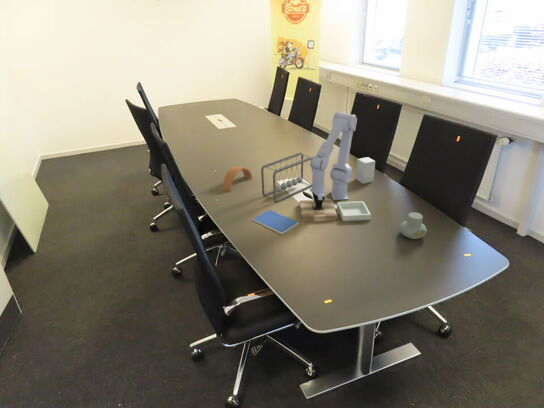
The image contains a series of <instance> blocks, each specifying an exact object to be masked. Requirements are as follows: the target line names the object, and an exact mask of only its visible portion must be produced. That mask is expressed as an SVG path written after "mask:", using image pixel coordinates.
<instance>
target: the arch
mask: <svg viewBox="0 0 544 408" xmlns="http://www.w3.org/2000/svg"><path fill="white" fill-rule="evenodd" d="M241 171H242V174H243V177H244V178H245V179H248V178H249V179H248V180H252V179H253V174H252V172H251V170H250V169H248V168H246V167H243V166H239V165H236V166H235V165H234V166H233V167H231V168H230V169H228V171H227V172H226V174H225V176H224V178H223V182H222V190H223V191H227V192H232V186H233V181H234V179H235V178H236V175H237V174H238V173H240V172H241Z"/></svg>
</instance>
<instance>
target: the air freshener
mask: <svg viewBox="0 0 544 408" xmlns="http://www.w3.org/2000/svg"><path fill="white" fill-rule="evenodd" d="M423 218H424V216H423V215H422V214H421V213H420V212H417V211H415V212H414V211H412V212H409V213H408V214H407V219H406V220H404V221H403V222H401V223H400V225H399V231H400V233H401V235H403V236H405V237H406V238H408V239H413V240H418V239H422V238H423V237H424V236H426V234H427V231H428V229H427V227H426V225H425V224H423Z"/></svg>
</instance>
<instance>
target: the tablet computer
mask: <svg viewBox="0 0 544 408" xmlns="http://www.w3.org/2000/svg"><path fill="white" fill-rule="evenodd" d="M252 222H255V223H258V224H259V225H261V226H263V227H265V228H267V229H270V230H271V231H274V232H276V233H278V234H280V235H284V234H286V233H287V232H289V231H290V230H292V229H293V228H295V227H296V226H298V225H299V221H297V220H295V219H293V218H290V217H288V216H286V215H283V214H281V213H279V212H276V211H274V210H271V209H268V210H266V211H264V212H262V213H261V214H259V215H257V216H255V217H254V218H252Z"/></svg>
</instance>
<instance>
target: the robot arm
mask: <svg viewBox="0 0 544 408" xmlns="http://www.w3.org/2000/svg"><path fill="white" fill-rule="evenodd" d="M331 121H332V123H331V124H332V127H331V129H330V131H329V134H328V136H327V139H326V141H323V142H322V143H321V145H320V147H319V149H318V151H317V152H316V155H314V156H311V157H312V159H311V160H310V162H309V166H310V168H311V172H312V175H311V176H312V178H311V179H312V181H311V185H312V187H311V188H309V192H310V193H311V194H312V198H313V200H314V203H315V206H316V209H320V208H321V205H322V202H323V200H324V199H326V196H325V195H324V194H325V191H326V189H325V182H326V181H325V179H326V169H327V168H328V166H329V161H330V157H331V155H332V152H333V151H334V148H335V147H334V144H335V142H337V139H338V138H339V136H341V139H340V145H339V152H338V158H337V162H336V163H334V164H333V165H332V167H331V170H330V173H329V174H330V175H329V176H330V179H331V180H332V185H331V186H332V189H331V190H330V192H329V193H330V195H331V197H332V200H333V201H341V200H349V196H348V193H347V192H348V184H349V183H350V182H351V180H352V177H353V173H352V170H353V168H352V167H351V166H350V164H349V163H348V162H349V157H350V151H351V146H352V139H353V133H354V132H356V127H357V123H358V118H357V116H356V114H350V113H344V112H340V111H337V112H335V113H334V115H333V116H332V120H331Z"/></svg>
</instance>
